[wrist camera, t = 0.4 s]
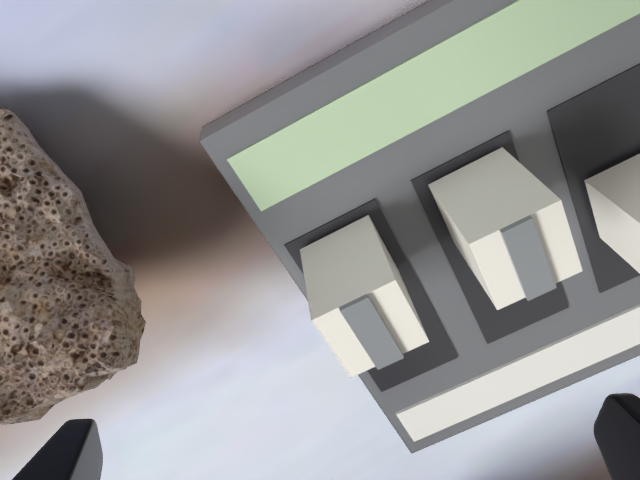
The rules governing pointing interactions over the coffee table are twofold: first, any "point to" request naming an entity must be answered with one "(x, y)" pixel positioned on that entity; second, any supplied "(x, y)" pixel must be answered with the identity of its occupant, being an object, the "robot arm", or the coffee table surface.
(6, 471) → the coffee table surface
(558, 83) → the breaker panel
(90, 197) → the coffee table surface
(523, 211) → the block
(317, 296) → the block
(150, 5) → the coffee table surface
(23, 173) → the coral
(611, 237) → the block
